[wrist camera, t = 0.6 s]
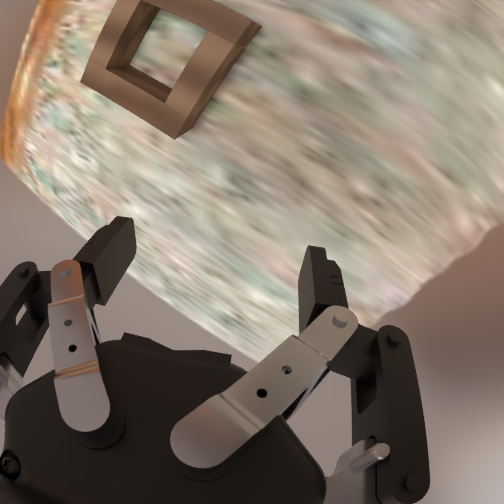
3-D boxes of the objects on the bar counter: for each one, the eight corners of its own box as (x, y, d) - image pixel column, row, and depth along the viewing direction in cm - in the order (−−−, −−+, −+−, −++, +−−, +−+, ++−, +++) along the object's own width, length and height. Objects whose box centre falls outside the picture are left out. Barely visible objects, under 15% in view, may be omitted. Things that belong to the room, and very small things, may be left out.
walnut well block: (156, -22, 21) (134, -29, 17) (261, 26, 24) (252, 20, 21) (104, 76, 30) (80, 82, 26) (192, 128, 33) (174, 139, 29)
